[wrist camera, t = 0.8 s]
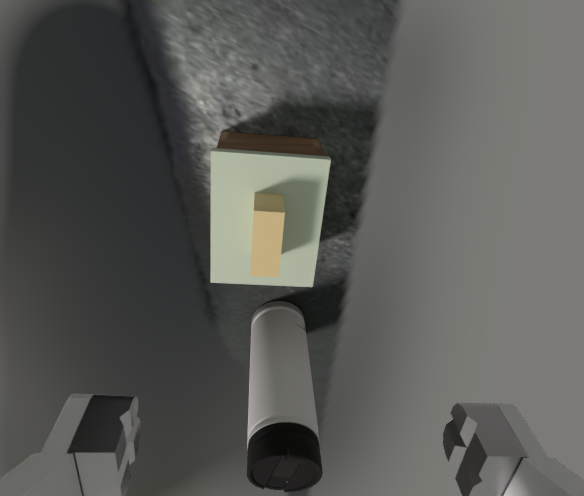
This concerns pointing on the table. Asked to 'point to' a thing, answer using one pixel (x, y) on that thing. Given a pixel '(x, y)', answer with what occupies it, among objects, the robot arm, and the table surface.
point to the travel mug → (281, 402)
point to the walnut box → (269, 143)
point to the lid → (266, 216)
